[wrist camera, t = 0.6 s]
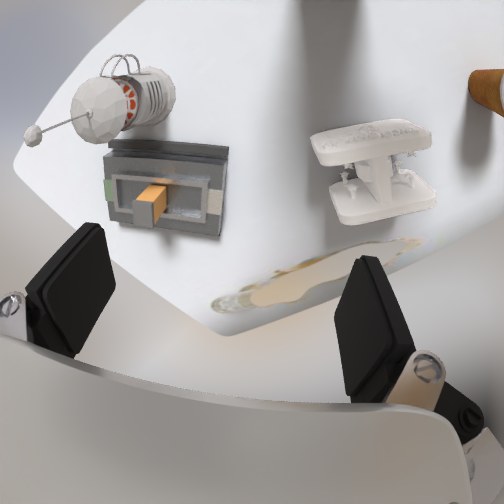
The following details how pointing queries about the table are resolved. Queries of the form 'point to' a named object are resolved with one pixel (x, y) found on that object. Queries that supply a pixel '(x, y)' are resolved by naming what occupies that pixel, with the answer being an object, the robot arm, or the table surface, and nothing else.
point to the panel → (168, 188)
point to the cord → (169, 146)
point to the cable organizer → (375, 170)
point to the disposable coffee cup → (488, 89)
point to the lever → (149, 206)
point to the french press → (116, 104)
